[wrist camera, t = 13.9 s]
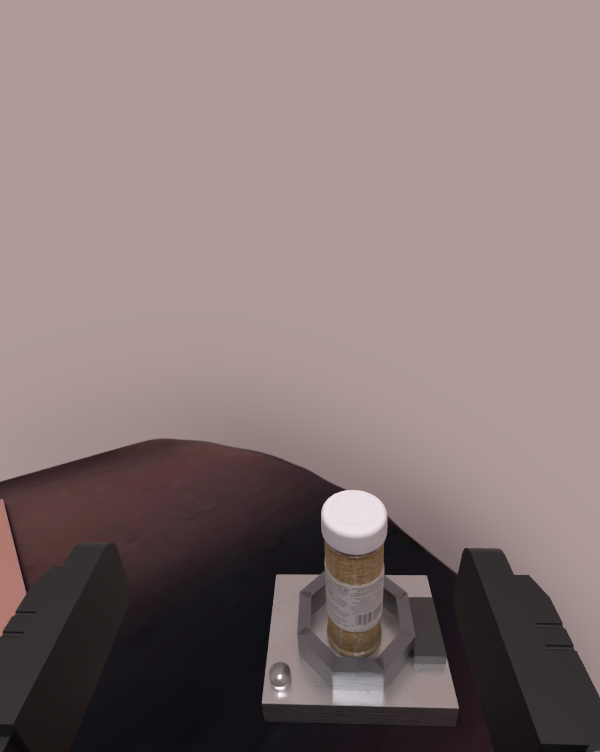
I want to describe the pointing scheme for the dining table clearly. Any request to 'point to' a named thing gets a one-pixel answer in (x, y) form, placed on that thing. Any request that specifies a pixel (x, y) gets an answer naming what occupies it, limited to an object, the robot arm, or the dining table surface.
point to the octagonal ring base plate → (357, 660)
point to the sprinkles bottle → (354, 570)
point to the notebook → (8, 572)
